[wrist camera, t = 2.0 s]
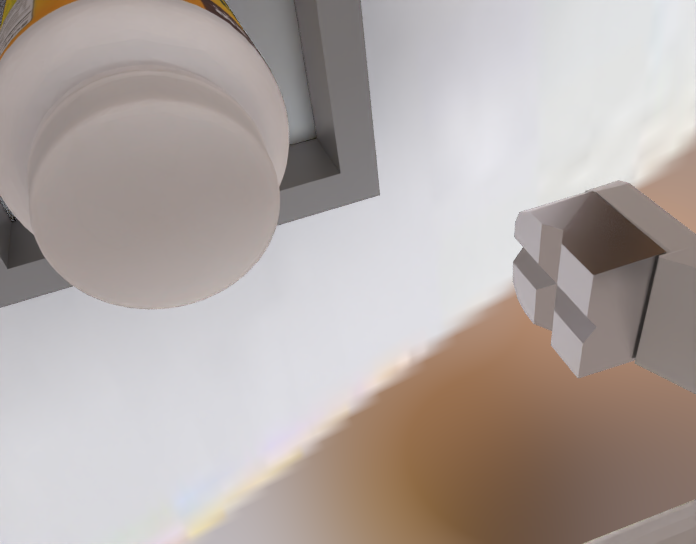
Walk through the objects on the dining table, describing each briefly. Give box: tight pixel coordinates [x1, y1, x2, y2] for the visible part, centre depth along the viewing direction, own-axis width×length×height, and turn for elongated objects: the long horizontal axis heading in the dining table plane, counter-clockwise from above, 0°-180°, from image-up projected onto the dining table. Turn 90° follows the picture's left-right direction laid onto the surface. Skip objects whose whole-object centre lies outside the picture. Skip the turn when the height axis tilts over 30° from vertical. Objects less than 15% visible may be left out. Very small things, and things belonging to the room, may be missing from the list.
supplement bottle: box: [0, 0, 289, 309], centre depth 15 cm, size 6×6×10 cm
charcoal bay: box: [0, 0, 380, 308], centre depth 18 cm, size 12×11×2 cm
